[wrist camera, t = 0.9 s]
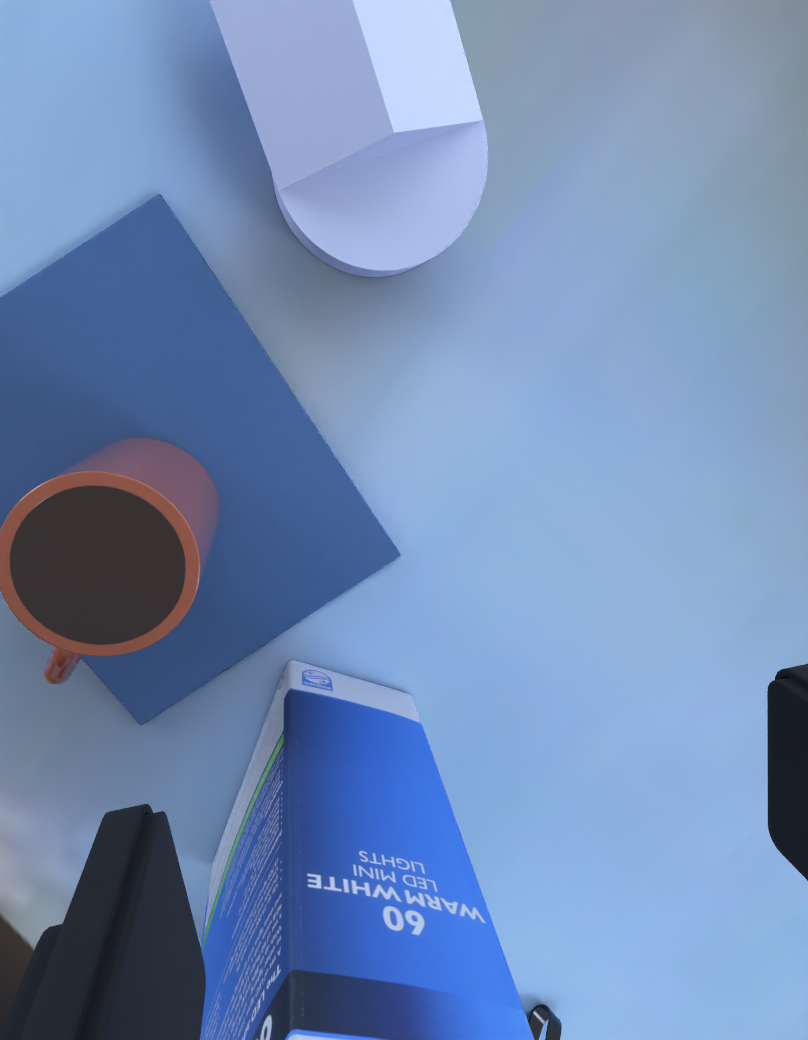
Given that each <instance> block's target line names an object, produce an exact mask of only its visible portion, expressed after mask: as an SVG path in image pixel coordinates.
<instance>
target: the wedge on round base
mask: <svg viewBox="0 0 808 1040" xmlns="http://www.w3.org/2000/svg"><path fill="white" fill-rule="evenodd" d="M210 3H211V6H212V8H213V11H214V14H215V17H216V20H217V22H218V25H219V28H220V31H221V33H222V36H223V39H224V42H225V44H226V47H227V50H228V53H229V55H230V58H231V61H232V64H233V67H234V69H235V72H236V75H237V78H238V80H239V83H240V86H241V89H242V91H243V94H244V97H245V100H246V102H247V105H248V108H249V111H250V113H251V116H252V119H253V122H254V125H255V127H256V130H257V133H258V136H259V138H260V141H261V144H262V147H263V149H264V152H265V155H266V158H267V160H268V163H269V166H270V169H271V172H272V178H273V184H274V191H275V194H276V198H277V201H278V204H279V207H280V209H281V212H282V214H283V216H284V218H285V220H286V222H287V224H288V225H289V227H290V229H291V230H292V232H293V233H294V234H295V236H296V237H297V238H298V240H299V241H300V242H301V243H302V244H303V245H304V246H305V247H306V248H307V249H308V250H309V251H310V252H311V253H312V254H313V255H315V256H316V257H317V258H319V259H320V260H321V261H323V262H325V263H326V264H328V265H330V266H332V267H333V268H336V269H338V270H341V271H343V272H346V273H349V274H354V275H358V276H366V277H385V276H390V275H395V274H399V273H402V272H405V271H408V270H410V269H412V268H414V267H416V266H418V265H420V264H422V263H424V262H426V261H427V260H429V259H431V258H433V257H435V256H436V255H438V254H439V253H441V252H442V251H443V250H445V249H446V248H447V247H449V246H450V245H451V244H452V243H453V242H454V241H455V240H456V239H457V238H458V237H459V236H460V234H461V233H462V232H463V230H464V229H465V228H466V227H467V225H468V224H469V222H470V220H471V219H472V217H473V215H474V213H475V211H476V209H477V207H478V204H479V202H480V200H481V197H482V193H483V190H484V186H485V182H486V175H487V169H488V145H487V135H486V131H485V126H484V121H483V117H482V114H481V110H480V107H479V103H478V99H477V96H476V92H475V89H474V85H473V81H472V78H471V74H470V71H469V67H468V63H467V60H466V56H465V53H464V49H463V45H462V42H461V38H460V35H459V31H458V27H457V24H456V20H455V17H454V13H453V9H452V6H451V2H450V0H210Z"/></svg>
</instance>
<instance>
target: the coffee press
mask: <svg viewBox="0 0 808 1040" xmlns="http://www.w3.org/2000/svg"><path fill="white" fill-rule="evenodd" d="M548 1019H549V1020H548ZM547 1020H548V1026H547V1032H546V1038H545V1040H560V1035H561V1022H560V1020H559V1019H558V1018H557V1017H556V1016H555V1014H554V1013H553V1012H552V1011H551V1010H550V1009H549V1008H548V1007H547V1006H546V1005H538V1006H536V1007H535V1008H534V1009H533V1010H532V1012H531V1014H530V1017H529V1020H528V1023H529V1026H530V1029H531V1031H532V1034H533V1037H534V1040H539V1036H540V1033H541V1030H542V1027H543V1024H544V1023H545V1022H546V1021H547Z"/></svg>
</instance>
